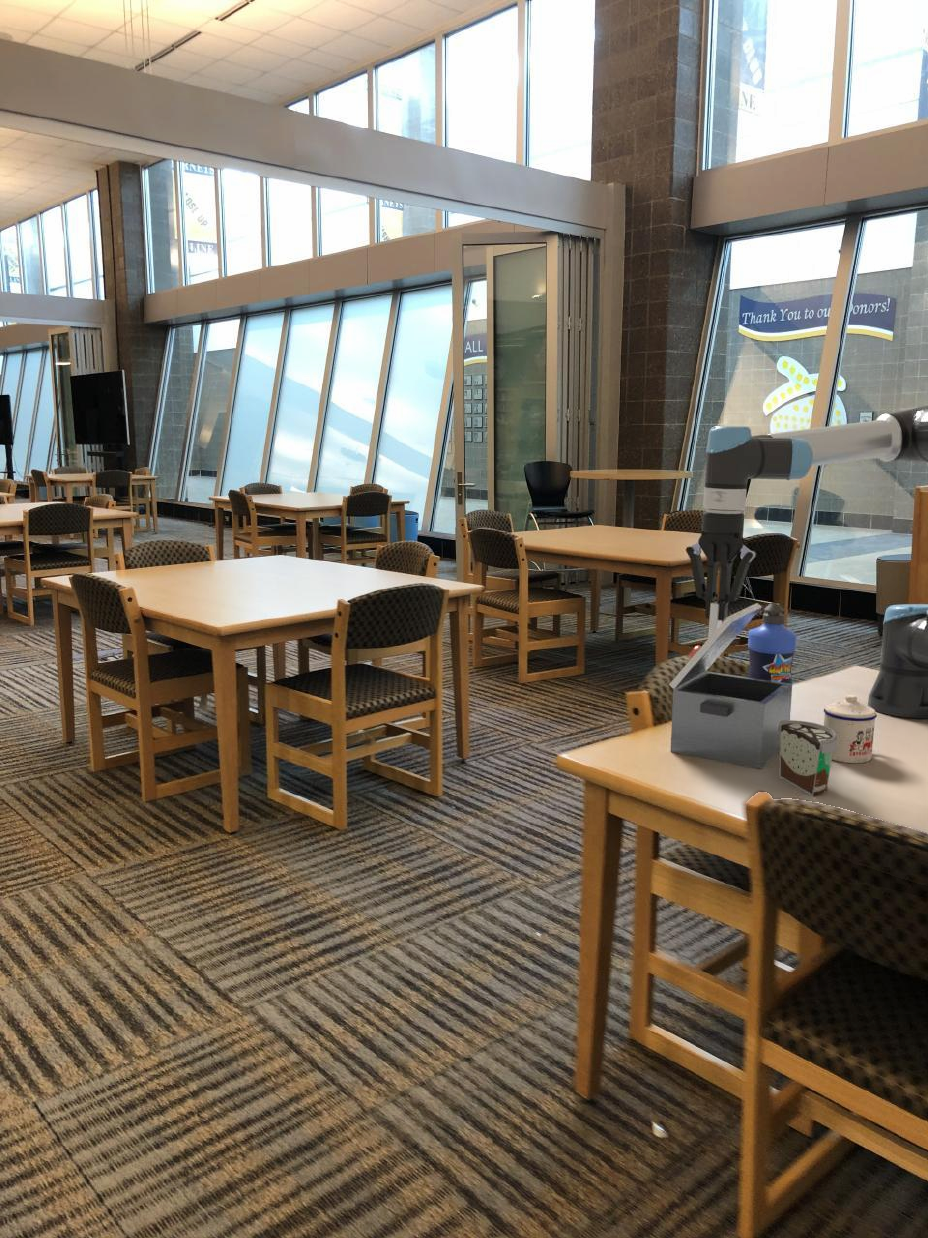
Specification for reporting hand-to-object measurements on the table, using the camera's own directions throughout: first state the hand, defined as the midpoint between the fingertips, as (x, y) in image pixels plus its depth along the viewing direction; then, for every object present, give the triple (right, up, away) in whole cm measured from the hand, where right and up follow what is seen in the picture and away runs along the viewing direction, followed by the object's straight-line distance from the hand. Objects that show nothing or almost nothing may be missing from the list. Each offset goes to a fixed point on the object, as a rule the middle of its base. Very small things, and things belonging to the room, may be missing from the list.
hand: (714, 636), depth 182 cm
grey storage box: (+3, -21, +2) cm, 22 cm away
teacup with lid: (+25, -22, -2) cm, 34 cm away
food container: (+12, -25, -17) cm, 33 cm away
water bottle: (+15, -18, +18) cm, 30 cm away
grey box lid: (+1, -2, 0) cm, 2 cm away
